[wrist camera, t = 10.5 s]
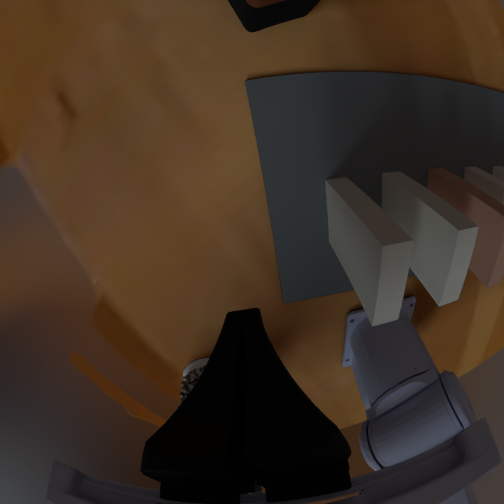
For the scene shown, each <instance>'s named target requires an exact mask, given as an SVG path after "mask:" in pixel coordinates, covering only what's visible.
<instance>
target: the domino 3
mask: <svg viewBox="0 0 504 504" xmlns="http://www.w3.org/2000/svg"><path fill="white" fill-rule="evenodd" d="M464 180H465V181H467V182H469V183H471V184H472V185H474V186H476V187H477V188H479V189H481V190H482V191H484V192H485V193H487V194H488V195H490V196H492V197H493V198H495V199H496V200H498V201H499V202H501V203H502V204H504V182H503V181H502V180H500V179H498V178H496V177H494V176H493V175H491V174H489V173H487V172H485V171H483V170H481V169H480V168H478V167H465V172H464Z"/></svg>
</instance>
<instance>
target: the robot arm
mask: <svg viewBox="0 0 504 504" xmlns="http://www.w3.org/2000/svg"><path fill="white" fill-rule="evenodd" d="M415 304H416V298H415V296H411V297H407V298H404V299H403V301H402V305H401V309H400V314H399V318H398V320H394V321H391V322H387V323H384V324H380V325H376V326H373V327H372V325H371V323H370V321H369V319H368V317H367V315H366V313H365V310H364V309H361V310H357V311H352V312H350V313H348V315H347V321H346V333H345V343H344V353H343V361H342V365H343V367H348V366H351V367H352V370H353V373H354V376H355V379H356V383H357V386H358V389H359V392H360V395H361V399H362V402H363V404H364V406H365V407H366V408H367V410H366V411H365V412H366V415H367V420H366V421H364V422H363V424H362V427H361V432H360V437H359V440H360V447H361V451H362V454H363V456H364V458H365V460H366V462H367V463H368V465H369V466H370V467H371V468H372V469H374V472H371V473H368V474H364V475H361V476H357V477H354V478H350V475H349V464H348V458H349V457H350V455H351V449H350V446H349V444H348V442H347V441H346V439H345V437H344V436H343V434H342V433H341V432H340V430H339V429H338V427H337V426H336V425H335V424H334V423H333V422H332V421H331V420H330V419H329V418H327V417H326V416H325V415H324V414H323V413H322V412H321V411H320V410H319V409H318V408H317V407H316V406H315V404H314V403H313V402H312V401H311V400H310V399H309V398H308V397H307V395H306V394H305V393H304V392H303V391H302V390H301V388H300V387H299V386H298V385H297V383H296V382H295V381H294V379H293V378H292V377H291V375H290V374H289V372H288V371H287V369H286V368H285V366H284V365H283V363H282V362H281V360H280V358H279V357H278V355H277V353H276V351H275V350H274V348H273V346H272V344H271V342H270V340H269V338H268V336H267V333H266V331H265V328H264V326H263V322H262V317H261V313H260V309H258V308H251V309H245V310H239V311H232V312H228V313H227V314H226V318H225V321H224V324H223V327H222V330H221V333H220V335H219V338H218V340H217V343H216V345H215V347H214V350H213V352H212V354H211V356H210V358H209V360H208V362H207V364H206V366H205V368H204V370H203V372H202V374H201V375H200V377H199V379H198V380H197V382H196V384H195V385H194V387H193V388H192V390H191V391H190V393H189V394H188V395H187V397H186V398H185V400H184V401H183V402H182V404H181V405H180V406H179V408H178V409H177V410H176V411H175V412H174V414H173V415H172V416H171V417H170V418H169V419H168V420H167V422H166V423H165V424H164V425H163V426H162V427H161V428H160V429H159V430H158V431H157V432H155V433H154V435H152V436H151V437H150V438H149V439H148V440H147V441H146V443H145V447H144V450H143V455H142V463H141V472H142V473H143V474H144V475H146V476H147V477H150V478H152V479H154V480H156V481H159V482H161V486H160V490H155V489H149V488H143V487H137V486H132V485H127V484H123V483H118V482H114V481H109V480H106V479H102V478H98V477H95V476H92V475H88V474H85V473H82V472H81V471H79V470H77V469H75V468H73V467H70V466H68V465H65V464H62V463H60V462H57V461H53V465H52V469H51V474H50V479H49V485H48V490H47V496H46V500H47V501H49V502H51V503H52V504H304V503H310V502H316V501H321V500H327V499H331V498H336V497H340V496H344V495H348V494H352V493H356V492H359V491H361V492H360V493H359V495H357V496H353V497H350V498H346V499H343V500H339V501H335V502H331V503H327V504H478V503H477V500H476V497H475V494H474V491H473V488H472V486H471V484H472V483H473V482H475V481H476V480H478V479H480V478H481V477H482V476H484V475H485V474H487V473H488V472H489V471H491V470H492V469H494V468H495V467H496V466H498V465H499V464H500V463H501V462H502V460H501V457H500V454H499V451H498V449H497V446H496V443H495V440H494V438H493V435H492V433H491V430H490V428H489V425H488V423H487V421H486V418H482V419H480V420H479V421H477V419H476V416H475V412H474V409H473V407H472V404H471V402H470V400H469V398H468V396H467V394H466V392H465V390H464V388H463V386H462V384H461V383H460V381H459V379H458V378H457V376H456V375H455V373H454V372H450V371H447V370H445V371H443V372H442V373H439V372H438V370H437V368H436V366H435V364H434V362H433V360H432V358H431V356H430V354H429V352H428V351H427V349H426V347H425V345H424V343H423V341H422V340H421V338H420V336H419V334H418V332H417V331H416V329H415V327H414V325H413V324H412V322H411V318H412V314H413V311H414V307H415ZM262 486H263V487H264V488H265V490H266V493H257V494H248V493H255V492H257V491H258V490H259V489H260V488H261V487H262Z"/></svg>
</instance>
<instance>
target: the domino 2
mask: <svg viewBox="0 0 504 504" xmlns="http://www.w3.org/2000/svg"><path fill="white" fill-rule="evenodd" d="M382 209H383V210H384V211H385V212H386V213H387V214H388V215H389V216H390V217H391V218H392V219H393V220H394V221H395V222H396V223H397V224H398V225H399V226H400V227H401V228H402V229H403V230H404V231H405V232H406V233H407V234H408V235H409V236H410V237H411V238H412V239H413V247H412V253H411V260H410V266H409V267H410V269H411V270H412V271H413V272H414V274H415V275H416V276H417V278H418V279H419V280H420V282H421V283H422V284H423V286H424V287H425V288H426V290H427V291H428V292H429V294H430V295H431V296H432V298H433V299H434V301H435V302H436V303H437V305H438V306H442V305H445V304H448V303H451V302H453V301H456V300H458V298H459V295H460V292H461V289H462V286H463V283H464V280H465V277H466V274H467V271H468V267H469V264H470V260H471V257H472V253H473V249H474V245H475V241H476V237H477V232H478V227H479V226H478V225H477V224H475V223H474V222H473V221H471V220H470V219H469V218H468V217H466V216H465V215H464V214H462V213H461V212H460V211H458V210H457V209H456V208H454V207H453V206H452V205H450V204H449V203H447V202H446V201H445V200H443V199H442V198H440V197H439V196H437V195H436V194H435V193H433V192H432V191H430V190H429V189H427V188H426V187H424V186H422V185H421V184H419V183H418V182H416V181H415V180H413V179H411V178H410V177H408V176H407V175H405V174H403V173H402V172H400V171H398V172H387V173H382Z"/></svg>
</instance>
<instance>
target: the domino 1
mask: <svg viewBox="0 0 504 504" xmlns="http://www.w3.org/2000/svg"><path fill="white" fill-rule="evenodd" d="M325 184H326V197H327V212H328V230H329V242H330V244H331V246H332V248H333V250H334V252H335V253H336V255H337V257H338V259H339V261H340V263H341V265H342V267H343V269H344V270H345V272H346V274H347V276H348V278H349V280H350V282H351V284H352V286H353V288H354V290H355V292H356V294H357V296H358V298H359V300H360V302H361V304H362V306H363V308H364V310H365V313H366V315H367V317H368V319H369V321H370V323H371V325H372V327H373V326H376V325H380V324H384V323H387V322H391V321H394V320H398V318H399V314H400V309H401V305H402V301H403V296H404V292H405V287H406V282H407V277H408V271H409V266H410V260H411V253H412V247H413V239H412V238H411V237H410V236H409V235H408V234H407V233H406V232H405V231H404V230H403V229H402V228H401V227H400V226H399V225H398V224H397V223H396V222H395V221H394V220H393V219H392V218H391V217H390V216H389V215H388V214H387V213H386V212H385V211H384V210H383V209H381V208H380V207H379V206H378V205H377V204H376V203H375V202H374V201H373V200H372V199H371V198H370V197H369V196H367V195H366V194H365V193H364V192H363V191H362V190H361V189H360V188H358V187H357V186H356V185H355V184H354V183H353V182H352V181H350V180H349V179H348V178H347V177H344V178H336V179H329V180H325Z"/></svg>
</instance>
